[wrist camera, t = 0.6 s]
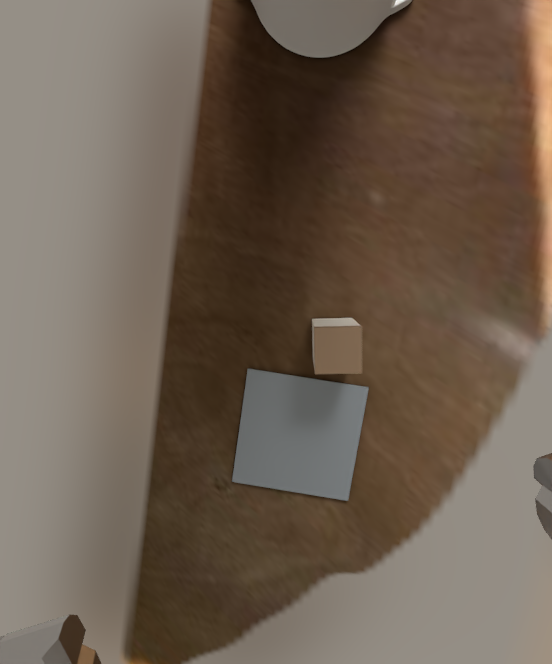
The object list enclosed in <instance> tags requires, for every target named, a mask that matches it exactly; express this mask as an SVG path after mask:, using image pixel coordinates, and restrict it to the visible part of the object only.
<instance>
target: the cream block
mask: <svg viewBox="0 0 552 664" xmlns="http://www.w3.org/2000/svg"><path fill="white" fill-rule="evenodd" d="M312 349H313V364H314V370H315V374H362V326H360V325H359V324H358V323H357V322H356V321H355V320H354V319H353V318H321V319H312Z"/></svg>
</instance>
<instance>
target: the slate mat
mask: <svg viewBox="0 0 552 664" xmlns="http://www.w3.org/2000/svg"><path fill="white" fill-rule="evenodd" d="M368 389H369V388H368V387H364V386H358V385H351V384H345V383H338V382H332V381H326V380H319V379H313V378H306V377H300V376H294V375H287V374H281V373H274V372H268V371H262V370H255V369H249V368H248V371H247V378H246V385H245V392H244V399H243V406H242V413H241V420H240V428H239V435H238V442H237V449H236V456H235V463H234V470H233V477H232V482H236V483H242V484H248V485H254V486H261V487H267V488H273V489H279V490H285V491H291V492H297V493H303V494H309V495H315V496H321V497H327V498H333V499H339V500H345V501H348V498H349V492H350V487H351V481H352V476H353V470H354V465H355V460H356V454H357V449H358V443H359V438H360V432H361V427H362V422H363V416H364V411H365V405H366V400H367V394H368Z"/></svg>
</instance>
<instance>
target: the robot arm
mask: <svg viewBox="0 0 552 664" xmlns="http://www.w3.org/2000/svg"><path fill="white" fill-rule="evenodd" d="M411 1H412V0H251V2H252V3H253V5H254V7H255V10H256V12H257V14H258V17H259V19H260V21H261V23H262V24H263V26H264V27H265V29H266V30H267V32H268V33H269V34H270V35H271V36H272V37H273V38H274V39H275V40H276V41H277V42H278V43H279V44H280V45H282V46H283V47H285V48H286V49H288V50H290V51H292V52H294V53H297V54H300V55H303V56H307V57H315V58H324V57H332V56H336V55H340V54H343V53H345V52H348V51H350V50H352V49H353V48H355V47H357V46H358V45H360V44H361V43H362V42H364V41H365V40H366V39H367V38H368V37H369V36H370V35H371V34H372V33H373V32H374V31H375V30H376V28H377V27H378V26H379V25H380V24H381V22H382V21H383V20H384V19H385V18H387V17H388V16H389V15H391V14H393V13H395V12H397V11H399V10H401V9H403V8H404V7H406V6H407V5H408V4H410V3H411ZM534 478H535V479H536V480H537V481H538V482H539V483H540V484H541V485H542V487H541V489H540V491H539V493H538V495H537V497H536V498H535V500H536V508H537V515H538V517H539V519H540V522H541V524H542V526H543V528H544V530H545V531H546V533H547V534H548V535H549V537H550V538H551V539H552V453H551V454H548V455H545V456H542V457H539V458H537V459H536V461H535V464H534ZM85 631H86V630H85V628H84V626H83V625H82V623H81V621H80V619H79V617H78V616H77V615H67V616H64V617H61V618H57V619H54V620H50V621H47V622H44V623H41V624H38V625H34V626H31V627H28V628H24V629H21V630H18V631H15V632H11V633H8V634H6V635H5V636H1V637H0V664H101V661H100V659H99V657H98V655H97V653H96V651H95V650H93V649H91V648H89V647H87V646H85V645H83V644H82V643H83V639H84V635H85Z"/></svg>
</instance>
